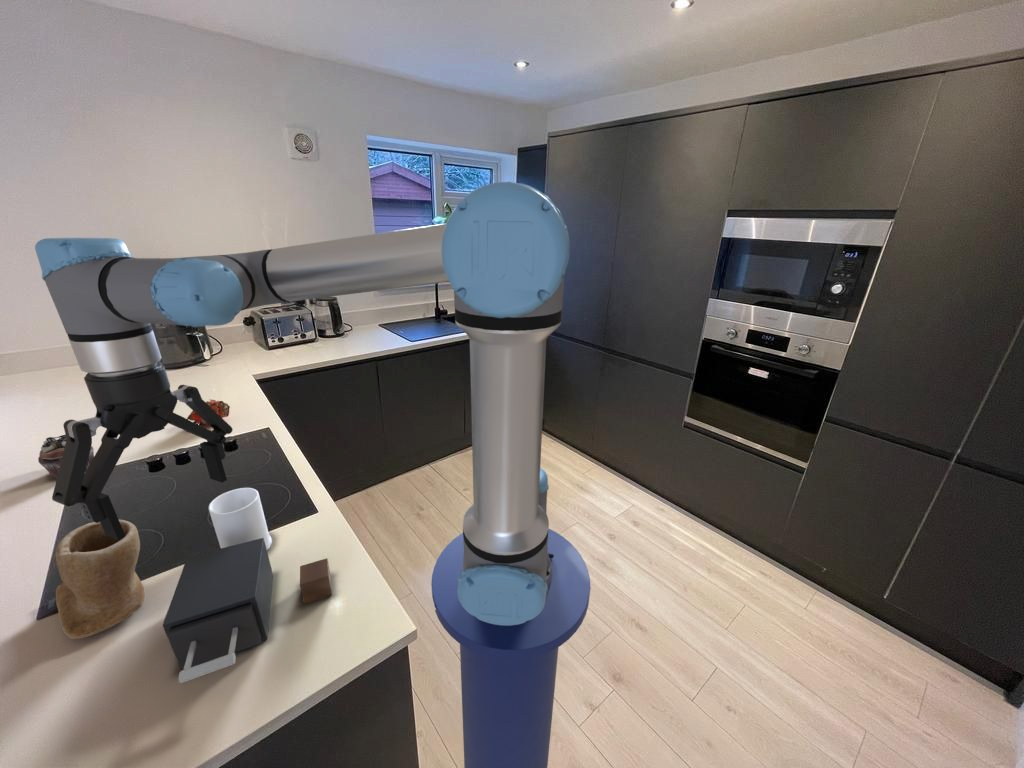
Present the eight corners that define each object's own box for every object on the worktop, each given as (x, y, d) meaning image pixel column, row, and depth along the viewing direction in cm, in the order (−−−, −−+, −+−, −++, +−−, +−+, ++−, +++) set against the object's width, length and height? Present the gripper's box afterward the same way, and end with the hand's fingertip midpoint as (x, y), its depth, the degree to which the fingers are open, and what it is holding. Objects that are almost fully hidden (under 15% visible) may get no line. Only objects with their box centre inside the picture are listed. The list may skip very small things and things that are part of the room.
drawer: (257, 678, 57) (246, 643, 54) (170, 711, 53) (153, 674, 50) (267, 582, 72) (259, 551, 69) (201, 602, 68) (189, 569, 65)
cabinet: (267, 639, 63) (255, 596, 60) (180, 669, 58) (162, 625, 55) (273, 575, 74) (263, 537, 71) (201, 597, 70) (187, 557, 67)
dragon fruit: (237, 421, 135) (196, 438, 128) (226, 403, 137) (185, 418, 130) (233, 409, 129) (189, 425, 122) (221, 389, 131) (178, 404, 124)
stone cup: (167, 604, 68) (139, 535, 63) (66, 656, 60) (25, 581, 54) (148, 559, 77) (123, 495, 72) (59, 598, 69) (22, 529, 64)
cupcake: (102, 469, 105) (88, 435, 101) (48, 485, 98) (31, 450, 94) (96, 456, 111) (83, 424, 107) (44, 471, 104) (28, 437, 100)
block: (330, 576, 75) (327, 557, 73) (332, 595, 71) (328, 575, 69) (304, 584, 73) (300, 565, 71) (304, 604, 69) (299, 584, 67)
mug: (245, 524, 87) (233, 477, 83) (286, 522, 88) (275, 476, 83) (212, 566, 76) (195, 515, 72) (259, 564, 77) (245, 514, 72)
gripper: (204, 340, 62) (235, 457, 70) (-46, 398, 40) (39, 559, 48) (239, 346, 60) (267, 466, 68) (-7, 410, 38) (76, 577, 46)
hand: (172, 505), depth 58 cm, fingers open, 13 cm apart
